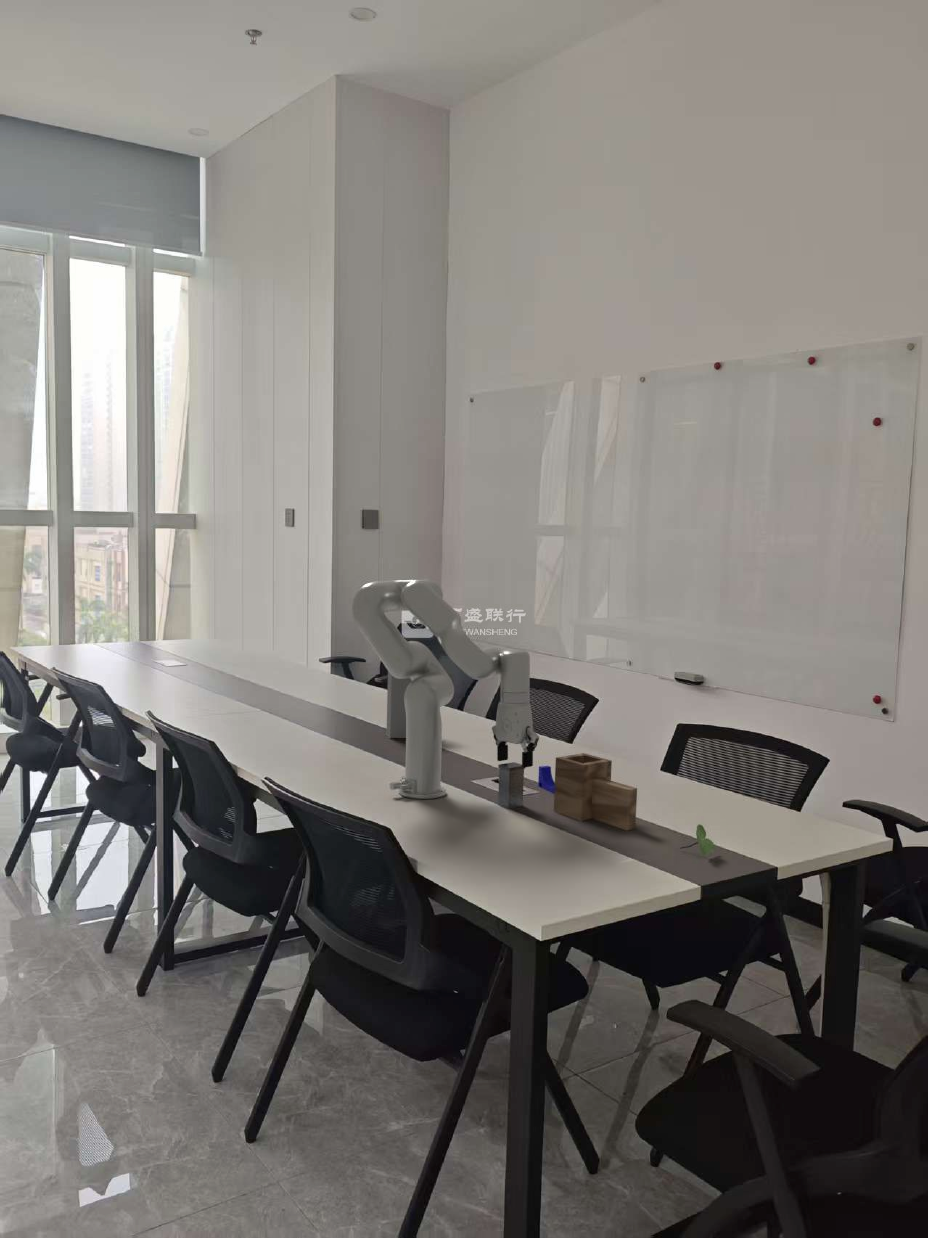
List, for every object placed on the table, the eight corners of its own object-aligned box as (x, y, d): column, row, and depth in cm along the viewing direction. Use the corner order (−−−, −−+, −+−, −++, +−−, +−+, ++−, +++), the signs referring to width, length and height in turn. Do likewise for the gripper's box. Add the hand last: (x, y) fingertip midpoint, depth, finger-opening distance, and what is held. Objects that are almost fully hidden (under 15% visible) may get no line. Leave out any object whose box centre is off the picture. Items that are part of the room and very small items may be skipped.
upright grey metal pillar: (508, 809, 264) (509, 768, 263) (497, 805, 267) (498, 764, 266) (523, 806, 267) (525, 765, 266) (512, 802, 270) (514, 762, 269)
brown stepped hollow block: (616, 832, 246) (619, 775, 245) (553, 811, 263) (555, 757, 262) (645, 826, 252) (647, 770, 251) (581, 805, 269) (583, 753, 268)
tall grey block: (424, 736, 352) (426, 664, 349) (429, 740, 346) (431, 666, 344) (385, 738, 347) (387, 664, 345) (389, 741, 341) (391, 667, 339)
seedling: (693, 870, 234) (718, 860, 231) (673, 857, 230) (698, 846, 227) (689, 843, 239) (713, 833, 236) (669, 829, 235) (693, 818, 232)
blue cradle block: (574, 796, 279) (575, 775, 278) (560, 798, 277) (561, 776, 276) (552, 786, 290) (552, 765, 289) (538, 787, 288) (538, 766, 287)
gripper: (482, 695, 269) (482, 759, 270) (526, 703, 255) (526, 771, 257) (504, 692, 274) (504, 756, 275) (548, 700, 260) (548, 767, 261)
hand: (514, 763), depth 266 cm, fingers open, 9 cm apart
